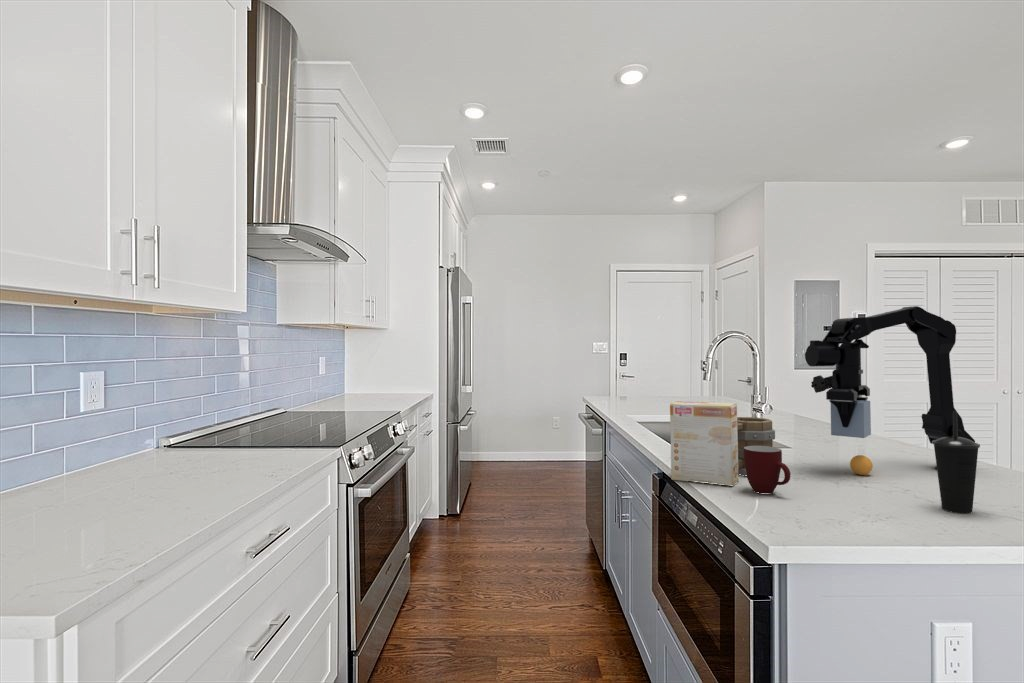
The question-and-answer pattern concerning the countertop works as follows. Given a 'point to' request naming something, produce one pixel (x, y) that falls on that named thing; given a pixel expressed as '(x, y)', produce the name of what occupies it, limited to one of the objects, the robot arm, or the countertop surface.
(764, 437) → the tankard
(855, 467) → the ball
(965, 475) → the drinking cup
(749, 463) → the mug
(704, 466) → the coffeecake box
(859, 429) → the slate grey cube
